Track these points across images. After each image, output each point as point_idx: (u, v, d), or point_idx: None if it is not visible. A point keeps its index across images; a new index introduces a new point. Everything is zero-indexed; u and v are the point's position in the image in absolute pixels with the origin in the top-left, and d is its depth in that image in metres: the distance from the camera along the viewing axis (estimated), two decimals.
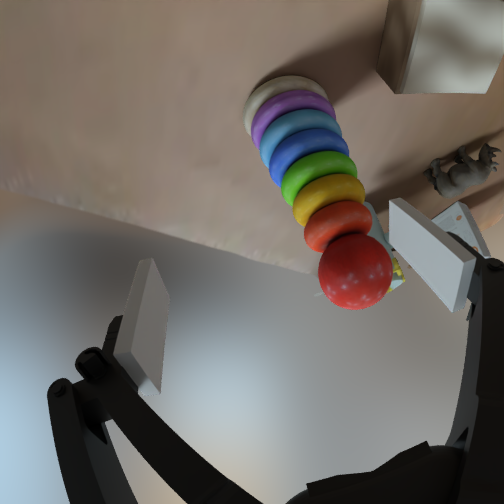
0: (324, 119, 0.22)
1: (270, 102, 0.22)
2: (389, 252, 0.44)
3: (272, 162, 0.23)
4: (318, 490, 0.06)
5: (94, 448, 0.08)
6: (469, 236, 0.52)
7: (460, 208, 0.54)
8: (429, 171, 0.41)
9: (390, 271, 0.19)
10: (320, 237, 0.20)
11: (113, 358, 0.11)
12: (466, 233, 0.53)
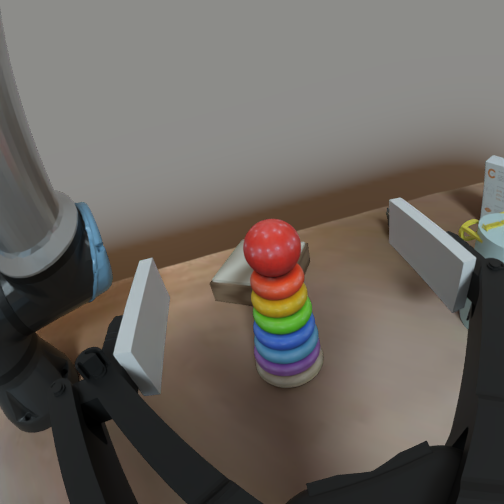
0: None
1: None
2: None
3: (263, 342, 0.31)
4: (318, 490, 0.06)
5: (94, 448, 0.08)
6: (489, 188, 0.47)
7: (481, 214, 0.50)
8: None
9: None
10: (256, 282, 0.28)
11: (113, 358, 0.11)
12: (490, 192, 0.47)
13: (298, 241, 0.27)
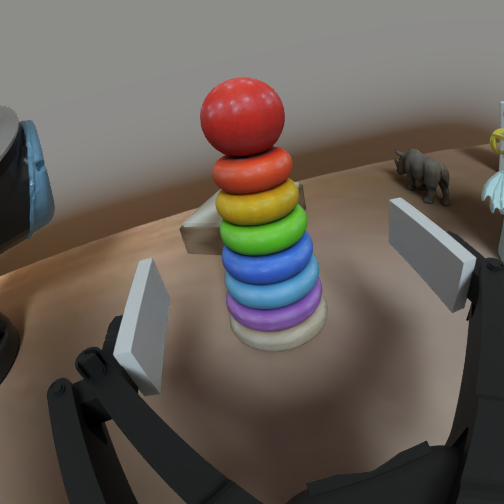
0: None
1: None
2: None
3: (234, 272, 0.21)
4: (318, 490, 0.06)
5: (94, 448, 0.08)
6: None
7: (500, 164, 0.41)
8: (441, 200, 0.36)
9: None
10: (219, 166, 0.18)
11: (113, 358, 0.11)
12: None
13: (279, 100, 0.17)
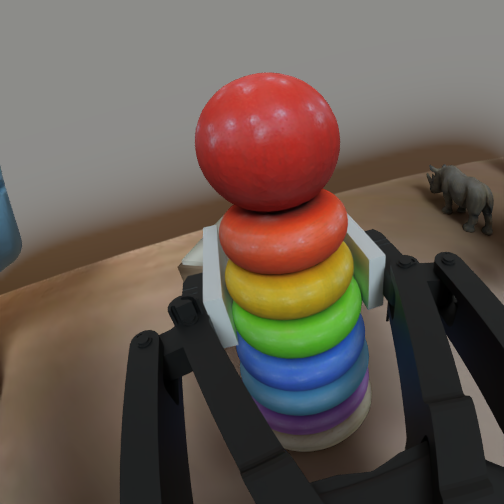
0: None
1: None
2: None
3: (256, 375, 0.14)
4: (318, 490, 0.06)
5: (165, 408, 0.09)
6: None
7: None
8: (483, 229, 0.29)
9: None
10: (231, 229, 0.11)
11: None
12: None
13: (333, 115, 0.09)
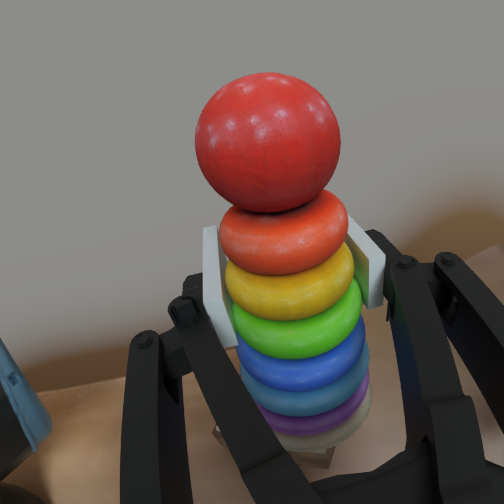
0: None
1: None
2: None
3: (256, 376, 0.13)
4: (318, 490, 0.06)
5: (165, 408, 0.09)
6: None
7: None
8: None
9: None
10: (231, 229, 0.11)
11: None
12: None
13: (334, 115, 0.09)
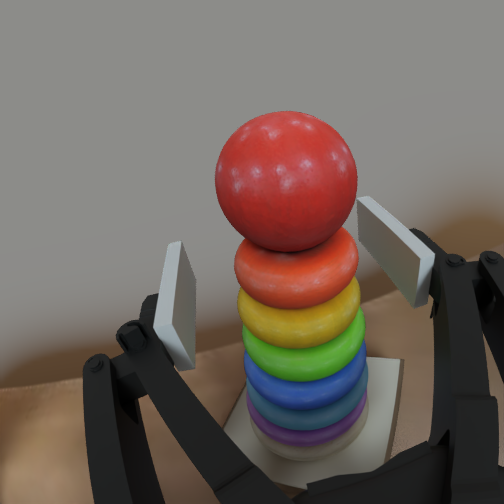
0: None
1: (247, 406, 0.18)
2: None
3: (264, 395, 0.14)
4: (318, 490, 0.06)
5: (125, 428, 0.08)
6: None
7: None
8: None
9: None
10: (248, 265, 0.12)
11: (150, 333, 0.12)
12: None
13: (353, 160, 0.10)
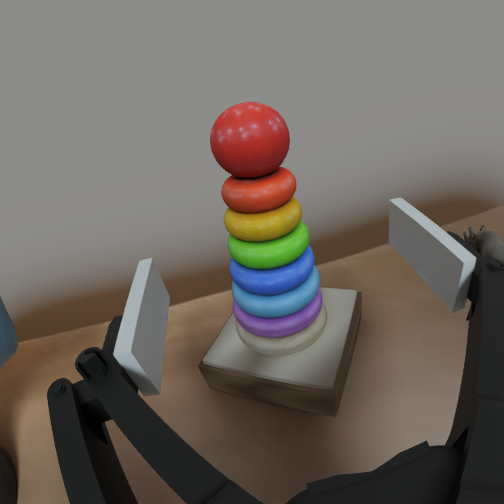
0: None
1: None
2: None
3: (241, 283, 0.22)
4: (318, 490, 0.06)
5: (94, 448, 0.08)
6: None
7: None
8: None
9: None
10: (228, 187, 0.20)
11: (113, 358, 0.11)
12: None
13: (285, 125, 0.18)
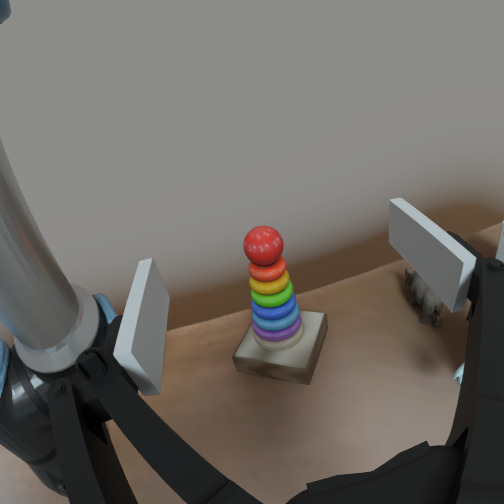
0: None
1: None
2: None
3: (258, 314, 0.43)
4: (318, 490, 0.06)
5: (94, 448, 0.08)
6: (503, 248, 0.46)
7: None
8: (433, 322, 0.47)
9: None
10: (253, 269, 0.41)
11: (113, 358, 0.11)
12: (503, 252, 0.47)
13: (281, 240, 0.39)
